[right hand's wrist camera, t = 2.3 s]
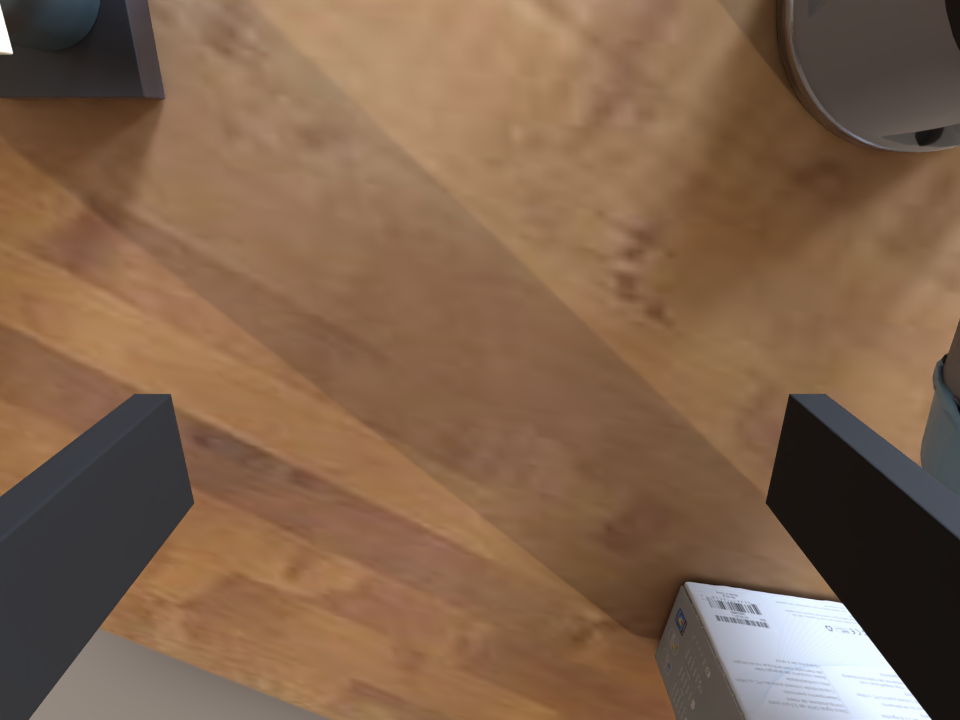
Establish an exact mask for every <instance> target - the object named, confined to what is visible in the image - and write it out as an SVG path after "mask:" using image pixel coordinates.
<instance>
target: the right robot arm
mask: <svg viewBox="0 0 960 720" xmlns="http://www.w3.org/2000/svg"><path fill="white" fill-rule="evenodd" d="M777 32H778V42H779V48H780V53H781V58H782V61H783V64H784V68H785V71H786V74H787V76H788V79H789V81H790V83H791V86H792V88H793V89H794V91H795V93H796V95H797V97H798V98H799V100H800V101H801V103H802V104H803V105H804V107H805V108H806V110H807V111H808V112H809V113H810V114H811V115H812V116H813V117H814V118H815V119H816V120H817V121H818V122H819V123H820V124H821V125H822V126H824V127H825V128H826V129H827V130H829V131H830V132H832V133H833V134H835V135H837V136H838V137H840V138H842V139H844V140H846V141H848V142H851V143H854V144H856V145H859V146H862V147H866V148H871V149H875V150H884V151H897V152H930V151H939V150H944V149H949V148H954V147H958V146H960V0H777ZM933 385H934V389H935V393H934V397H933V401H932V405H931V409H930V413H929V417H928V420H927V424H926V428H925V432H924V436H923V440H922V445H921V466H922V468H921V467H920V466H919V465H917V464H916V463H915V462H913V461H912V460H911V459H910V458H908V457H907V456H906V455H904V454H903V453H902V452H900V451H899V450H898V449H896V448H895V447H894V446H893V445H891V444H890V443H889V442H887V441H886V440H885V439H883V438H882V437H881V436H879V435H878V434H877V433H876V432H874V431H873V430H872V429H870V428H869V427H868V426H866V425H865V424H864V423H863V422H861V421H860V420H859V419H857V418H856V417H855V416H853V415H852V414H851V413H849V412H848V411H847V410H846V409H844V408H843V407H842V406H840V405H839V404H838V403H836V402H835V401H834V400H832V399H831V398H830V397H829V396H827V395H826V394H789V398H788V403H787V407H786V412H785V417H784V421H783V426H782V430H781V435H780V440H779V444H778V449H777V454H776V458H775V463H774V467H773V472H772V477H771V481H770V486H769V491H768V495H767V500H766V504H767V505H768V507H769V508H770V509H771V511H772V512H773V513H774V515H775V516H776V517H777V518H778V520H779V521H780V522H781V524H782V525H783V526H784V528H785V529H786V530H787V532H788V533H789V534H790V535H791V537H792V538H793V539H794V541H795V542H796V543H797V545H798V546H799V547H800V549H801V550H802V551H803V552H804V554H805V555H806V556H807V558H808V559H809V560H810V562H811V563H812V564H813V566H814V567H815V568H816V569H817V571H818V572H819V573H820V575H821V576H822V577H823V579H824V580H825V581H826V582H827V584H828V585H829V586H830V588H831V589H832V590H833V592H834V593H835V594H836V596H837V597H838V598H839V599H840V601H841V602H842V603H843V605H844V606H845V607H846V609H847V610H848V611H849V613H850V614H851V615H852V616H853V618H854V619H855V620H856V622H857V623H858V624H859V626H860V627H861V628H862V630H863V631H864V632H865V633H866V635H867V636H868V637H869V639H870V640H871V641H872V643H873V644H874V645H875V647H876V648H877V649H878V650H879V652H880V653H881V654H882V656H883V657H884V658H885V660H886V661H887V662H888V664H889V665H890V666H891V667H892V669H893V670H894V671H895V673H896V674H897V675H898V677H899V678H900V679H901V681H902V682H903V683H904V684H905V686H906V687H907V688H908V690H909V691H910V692H911V694H912V695H913V696H914V698H915V699H916V700H917V701H918V703H919V704H920V705H921V707H922V708H923V709H924V711H925V712H926V713H927V715H928V716H929V717H930V718H931V720H960V320H959V323H958V326H957V329H956V333H955V336H954V339H953V342H952V345H951V347H950V350H949V353H947V354H946V355H944V357H943V358H942V359H941V360H940V361H938V362H937V364H936V367H935V369H934V374H933ZM193 504H194V500H193V495H192V491H191V486H190V481H189V477H188V472H187V467H186V463H185V458H184V454H183V449H182V444H181V440H180V435H179V430H178V426H177V421H176V417H175V412H174V407H173V403H172V398H171V394H134V395H133V396H131V397H130V398H129V399H128V400H126V401H125V402H124V403H122V404H121V405H120V406H118V407H117V408H116V409H114V410H113V411H112V412H111V413H109V414H108V415H107V416H105V417H104V418H103V419H101V420H100V421H99V422H97V423H96V424H95V425H94V426H92V427H91V428H90V429H88V430H87V431H86V432H84V433H83V434H82V435H81V436H79V437H78V438H77V439H75V440H74V441H73V442H71V443H70V444H69V445H67V446H66V447H65V448H64V449H62V450H61V451H60V452H58V453H57V454H56V455H54V456H53V457H52V458H50V459H49V460H48V461H47V462H45V463H44V464H43V465H41V466H40V467H39V468H37V469H36V470H35V471H34V472H32V473H31V474H30V475H28V476H27V477H26V478H24V479H23V480H22V481H20V482H19V483H18V484H17V485H15V486H14V487H13V488H11V489H10V490H9V491H7V492H6V493H5V494H3V495H2V496H1V497H0V720H29V718H30V717H31V716H32V714H33V713H34V712H35V711H36V709H37V708H38V707H39V705H40V704H41V703H42V701H43V700H44V699H45V698H46V696H47V695H48V694H49V692H50V691H51V690H52V688H53V687H54V686H55V684H56V683H57V682H58V680H59V679H60V678H61V677H62V675H63V674H64V673H65V671H66V670H67V669H68V667H69V666H70V665H71V664H72V662H73V661H74V660H75V658H76V657H77V656H78V654H79V653H80V652H81V650H82V649H83V648H84V647H85V645H86V644H87V643H88V641H89V640H90V639H91V637H92V636H93V635H94V633H95V632H96V631H97V629H98V628H99V627H100V626H101V624H102V623H103V622H104V620H105V619H106V618H107V616H108V615H109V614H110V613H111V611H112V610H113V609H114V607H115V606H116V605H117V603H118V602H119V601H120V599H121V598H122V597H123V596H124V594H125V593H126V592H127V590H128V589H129V588H130V586H131V585H132V584H133V582H134V581H135V580H136V579H137V577H138V576H139V575H140V573H141V572H142V571H143V569H144V568H145V567H146V566H147V564H148V563H149V562H150V560H151V559H152V558H153V556H154V555H155V554H156V552H157V551H158V550H159V549H160V547H161V546H162V545H163V543H164V542H165V541H166V539H167V538H168V537H169V535H170V534H171V533H172V532H173V530H174V529H175V528H176V526H177V525H178V524H179V522H180V521H181V520H182V518H183V517H184V516H185V515H186V513H187V512H188V511H189V509H190V508H191V507H192V505H193Z"/></svg>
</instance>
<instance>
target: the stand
mask: <svg viewBox="0 0 960 720" xmlns="http://www.w3.org/2000/svg"><path fill="white" fill-rule="evenodd" d="M0 6H1V9H2V13H3V17H4V21H5V25H6V28H7V32H8V36H9V40H10V44H11V47H12V51H13V54H0V99H11V100H164V99H165V95H164V90H163V84H162V79H161V73H160V68H159V63H158V57H157V52H156V46H155V41H154V35H153V30H152V24H151V19H150V13H149V8H148V2H147V0H0Z"/></svg>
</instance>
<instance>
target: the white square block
mask: <svg viewBox="0 0 960 720" xmlns="http://www.w3.org/2000/svg"><path fill="white" fill-rule="evenodd" d="M0 54H13V51H12V47H11V44H10V40H9V36H8V32H7V28H6V25H5V21H4V17H3V13H2V9H1V6H0Z"/></svg>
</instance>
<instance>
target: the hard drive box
mask: <svg viewBox="0 0 960 720" xmlns="http://www.w3.org/2000/svg"><path fill="white" fill-rule="evenodd" d="M655 658H656V661H657V664H658V667H659V669H660V672H661V675H662V678H663V681H664V683H665V686H666V689H667V692H668V695H669V698H670V701H671V704H672V706H673V709H674V712H675V715H676V718H677V720H931V718H930V717H929V716H928V715H927V713H926V712H925V711H924V709H923V708H922V707H921V705H920V704H919V703H918V701H917V700H916V699H915V698H914V696H913V695H912V694H911V692H910V691H909V690H908V688H907V687H906V686H905V684H904V683H903V682H902V681H901V679H900V678H899V677H898V675H897V674H896V673H895V671H894V670H893V669H892V667H891V666H890V665H889V664H888V662H887V661H886V660H885V658H884V657H883V656H882V654H881V653H880V652H879V650H878V649H877V648H876V647H875V645H874V644H873V643H872V641H871V640H870V639H869V637H868V636H867V635H866V633H865V632H864V631H863V630H862V628H861V627H860V626H859V624H858V623H857V622H856V620H855V619H854V618H853V616H852V615H851V614H850V613H849V611H848V610H847V609H846V607H845V606H844V605H843V603H838V602H832V601H820V600H814V599H807V598H800V597H793V596H786V595H778V594H771V593H765V592H759V591H751V590H746V589H743V588H733V587H728V586H715V585H708V584H700V583H695V582H685V584H684V585H683V586H681V587H680V590H679V592H678V595H677V597H676V600H675V603H674V606H673V608H672V611H671V614H670V616H669V619H668V622H667V624H666V627H665V630H664V633H663V635H662V638H661V640H660V643H659V645H658V648H657V651H656V654H655Z"/></svg>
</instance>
